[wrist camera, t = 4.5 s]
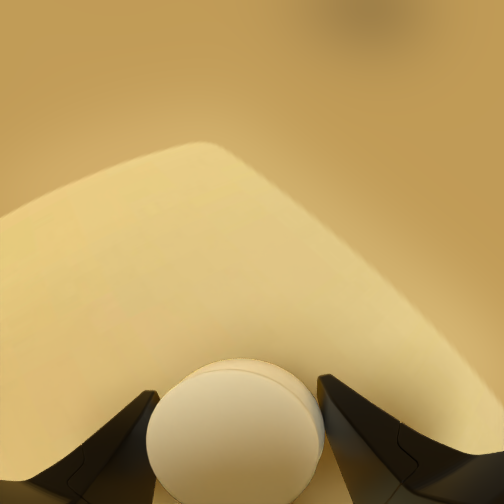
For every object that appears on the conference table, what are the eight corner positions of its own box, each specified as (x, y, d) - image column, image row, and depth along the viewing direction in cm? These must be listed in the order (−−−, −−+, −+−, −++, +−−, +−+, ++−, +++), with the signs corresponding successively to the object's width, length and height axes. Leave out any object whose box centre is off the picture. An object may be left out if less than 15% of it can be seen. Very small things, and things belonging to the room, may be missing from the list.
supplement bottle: (271, 357, 15) (282, 300, 7) (316, 435, 13) (391, 478, 4) (186, 397, 14) (89, 386, 5) (229, 475, 11) (186, 561, 3)
